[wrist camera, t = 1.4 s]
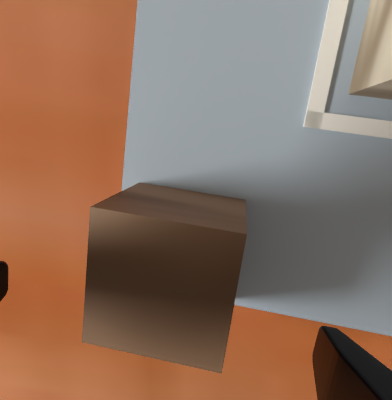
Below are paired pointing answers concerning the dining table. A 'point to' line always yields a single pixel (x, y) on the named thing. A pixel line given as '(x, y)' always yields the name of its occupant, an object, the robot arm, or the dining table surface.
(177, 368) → the dining table surface
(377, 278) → the build board
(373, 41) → the beech block
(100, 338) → the walnut cube
